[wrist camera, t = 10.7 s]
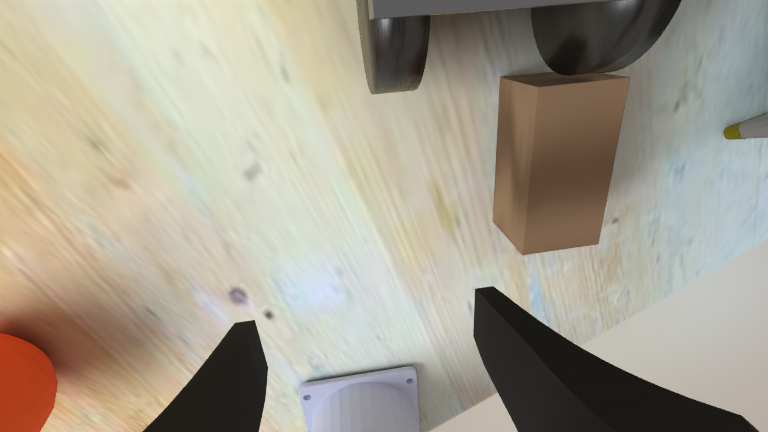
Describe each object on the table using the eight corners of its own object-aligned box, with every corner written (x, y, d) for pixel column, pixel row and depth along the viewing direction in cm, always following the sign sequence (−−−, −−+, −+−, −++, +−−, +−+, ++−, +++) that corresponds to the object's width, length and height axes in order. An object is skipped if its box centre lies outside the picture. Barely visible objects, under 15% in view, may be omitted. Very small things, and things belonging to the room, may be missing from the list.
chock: (498, 77, 19) (538, 87, 16) (574, 69, 20) (630, 77, 16) (491, 220, 23) (522, 255, 19) (556, 211, 23) (598, 244, 19)
